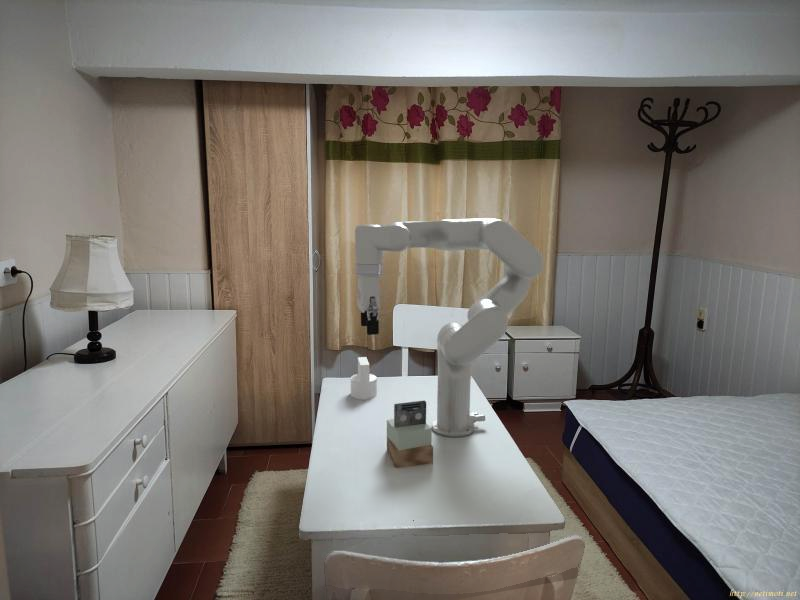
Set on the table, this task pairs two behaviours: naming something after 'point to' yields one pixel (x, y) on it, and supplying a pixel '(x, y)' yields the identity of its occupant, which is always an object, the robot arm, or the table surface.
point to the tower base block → (410, 455)
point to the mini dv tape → (410, 413)
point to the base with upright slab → (363, 381)
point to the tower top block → (409, 435)
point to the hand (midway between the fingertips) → (369, 329)
